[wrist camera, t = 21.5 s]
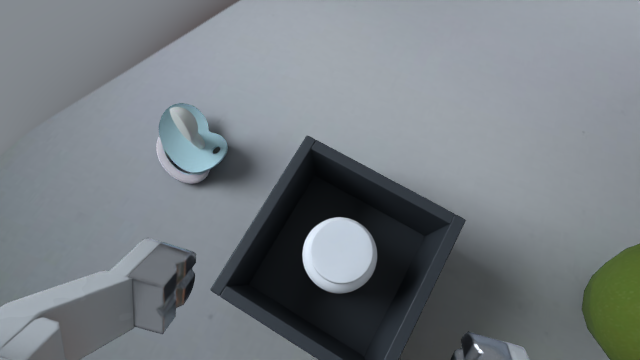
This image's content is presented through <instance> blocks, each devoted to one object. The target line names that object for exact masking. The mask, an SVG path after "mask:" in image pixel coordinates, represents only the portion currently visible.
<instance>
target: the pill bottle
mask: <svg viewBox="0 0 640 360" xmlns="http://www.w3.org/2000/svg"><path fill="white" fill-rule="evenodd" d="M302 258H303V264H304V268H305V270H306V272H307V274H308V276H309V278H310V279H311V280H312V281H313V282H314V283H315V284H316V285H317V286H318V287H320V288H321V289H323V290H325V291H328V292H331V293H339V294H340V293H348V292H352V291H354V290H356V289H358V288H360V287H361V286H363V285H364V284H365V283H366V282H367V281H368V280H369V279H370V277H371V276H372V274H373V272H374V270H375V267H376V263H377V248H376V244H375V241H374V239H373V237H372V235H371V234H370V232H369V231H368V230H367V229H366V228H365V227H364V226H363V225H362V224H360V223H359V222H357V221H355V220H352V219H349V218H344V217H335V218H330V219H327V220H325V221H323V222H321V223H320V224H318V225H317V226H315V227H314V228H313V229H312V230H311V231H310V233H309V234H308V236H307V238H306V240H305V242H304V246H303V252H302Z"/></svg>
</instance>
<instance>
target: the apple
mask: <svg viewBox="0 0 640 360" xmlns="http://www.w3.org/2000/svg"><path fill="white" fill-rule="evenodd" d="M582 311H583V315H584V318H585V322H586V325H587V328H588V330H589V331H590V333H591V334H592V335H593V337H594V338H595V340H596V341H597V342H598V344H599V345H600V346H601V348H602V349H603V351H604V352H605V353H606V355H607V356H608V357H609V359H610V360H640V244H638V245H635V246H632V247H630V248H627V249H625V250H623V251H622V252H621V253H619V254H618V255H616V256H615V257H614V258H612V259H611V260H609V261H608V262H607V263H605V264H604V265H603V266H602V267H601V268H600V269H599V270H598V271H597V272H596V273H595V274H594V275H593V276H592V277H591V279H590V281H589V283H588V285H587V287H586V288H585V290H584V297H583V304H582Z"/></svg>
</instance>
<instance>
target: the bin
mask: <svg viewBox="0 0 640 360" xmlns="http://www.w3.org/2000/svg"><path fill="white" fill-rule="evenodd" d="M335 217H344V218H349V219H352V220H355V221H357V222H359V223H360V224H362V225H363V226H364V227H365V228H366V229H367V230H368V231H369V232H370V234H371V235H372V237H373V239H374V241H375V244H376V248H377V263H376V267H375V270H374V272H373V274H372V276H371V277H370V279H369V280H368V281H367V282H366V283H365V284H364V285H363V286H361V287H360V288H358V289H356V290H354V291H352V292H348V293H340V294H339V293H331V292H328V291H325V290H323V289H321V288H320V287H318V286H317V285H316V284H315V283H314V282H313V281H312V280H311V279H310V278H309V276H308V274H307V272H306V270H305V268H304V264H303V258H302V252H303V246H304V242H305V240H306V238H307V236H308V234H309V233H310V231H311V230H312V229H313V228H314V227H315V226H317V225H318V224H320V223H321V222H323V221H325V220H327V219H330V218H335ZM465 221H466V220H465V219H463V218H461V217H460V216H458V215H455V214H454V213H452V212H450V211H448V210H447V209H445V208H443V207H441V206H439V205H437V204H435V203H433V202H432V201H430V200H428V199H426V198H424V197H422V196H420V195H418V194H417V193H415V192H413V191H411V190H409V189H407V188H405V187H403V186H402V185H400V184H398V183H396V182H394V181H392V180H390V179H388V178H387V177H385V176H383V175H381V174H379V173H377V172H375V171H373V170H372V169H370V168H368V167H366V166H364V165H362V164H360V163H358V162H357V161H355V160H353V159H351V158H349V157H347V156H345V155H344V154H342V153H340V152H338V151H336V150H334V149H332V148H330V147H329V146H327V145H325V144H323V143H321V142H319V141H317V140H315V139H313V138H311V137H310V136H306V137H305V139H304V141H303V142H302V144H301V145H300V147H299V149H298V150H297V152H296V153H295V155H294V157H293V158H292V160H291V161H290V163H289V165H288V166H287V168H286V169H285V171H284V173H283V174H282V176H281V177H280V179H279V181H278V182H277V184H276V185H275V187H274V189H273V190H272V192H271V193H270V195H269V196H268V198H267V200H266V201H265V203H264V204H263V206H262V208H261V209H260V211H259V212H258V214H257V216H256V217H255V219H254V220H253V222H252V224H251V225H250V227H249V228H248V230H247V232H246V233H245V235H244V236H243V238H242V240H241V241H240V243H239V244H238V246H237V248H236V249H235V251H234V252H233V254H232V255H231V257H230V259H229V260H228V262H227V263H226V265H225V267H224V268H223V270H222V271H221V273H220V275H219V276H218V278H217V279H216V281H215V283H214V284H213V286H212V287H211V291H212V292H214V293H215V294H217V295H218V296H220V297H222V298H223V299H225V300H226V301H228V302H229V303H231V304H232V305H234V306H236V307H237V308H239V309H240V310H242V311H243V312H245V313H247V314H248V315H250V316H251V317H253V318H254V319H256V320H257V321H259V322H261V323H262V324H264V325H265V326H267V327H268V328H270V329H272V330H273V331H275V332H276V333H278V334H279V335H281V336H282V337H284V338H286V339H287V340H289V341H290V342H292V343H293V344H295V345H297V346H298V347H300V348H301V349H303V350H304V351H306V352H308V353H309V354H311V355H312V356H314V357H315V358H317V359H318V360H399V358H400V356H401V353H402V351H403V349H404V347H405V345H406V343H407V341H408V339H409V337H410V335H411V333H412V331H413V329H414V327H415V324H416V322H417V320H418V318H419V316H420V314H421V312H422V310H423V308H424V306H425V304H426V302H427V300H428V298H429V295H430V293H431V291H432V289H433V287H434V285H435V283H436V281H437V279H438V277H439V275H440V273H441V271H442V269H443V266H444V264H445V262H446V260H447V258H448V256H449V254H450V252H451V250H452V248H453V246H454V244H455V242H456V240H457V237H458V235H459V233H460V231H461V229H462V227H463V225H464V223H465Z"/></svg>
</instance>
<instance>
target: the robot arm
mask: <svg viewBox="0 0 640 360" xmlns="http://www.w3.org/2000/svg"><path fill="white" fill-rule="evenodd" d="M195 263H196V254H195V253H194V252H192V251H189V250H186V249H183V248H180V247H177V246H174V245H170V244H167V243H164V242H160V241H157V240H153V239H150V238H146V239H143V240H142V241H141V242H140V243H139V244H137V245H136V246H135V247H134V248H133V249H132V250H131V251H130V252H129V253H128V254H127V255H126V256H125V257H124V258H123V259H121V260H120V261H119V262H118V263H117V264H116V265H115V266H114V267H113V268H112V269H111V270H110V271H105V270H103V271H100V272H97V273H94V274H91V275H88V276H85V277H82V278H79V279H76V280H73V281H70V282H68V283H65V284H62V285H59V286H56V287H53V288H50V289H47V290H44V291H41V292H38V293H35V294H32V295H29V296H26V297H23V298H20V299H17V300H14V301H11V302H8V303H6V304H4V305H3V306H2V307H0V360H80V359H82V358H83V357H85V356H87V355H89V354H90V353H92V352H94V351H96V350H97V349H99V348H101V347H102V346H104V345H106V344H108V343H109V342H111V341H113V340H114V339H116V338H118V337H120V336H121V335H123V334H125V333H126V332H128V331H130V330H132V329H133V328H134V327H138V328H142V329H145V330H149V331H152V332H156V333H160V334H163V333H164V332H165V331H166V329H167V328H168V326H169V325H170V323H171V322H172V321H173V319H174V318H175V316H176V308H177V307H180V306H182V305H184V303H185V302H186V300H187V299H188V297H189V295H190V293H191V291H192V288H193V285H194V280H195V273H194V272H193V270H192V267H193V266H194V264H195ZM461 343H462V348H460V349H457V350H455V352H454V353H453V355H452V357H451V360H529V357H528V354H527V352H526V350H525V349H524V348H523V346H519V345H516V344H512V343H508V342H505V341H504V342H503V341H501V340H497V339H493V338H490V337H486V336H483V335H479V334H476V333H472V332H469V331H468V332H467V333H465V334H464V336H463V337H462V339H461Z"/></svg>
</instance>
